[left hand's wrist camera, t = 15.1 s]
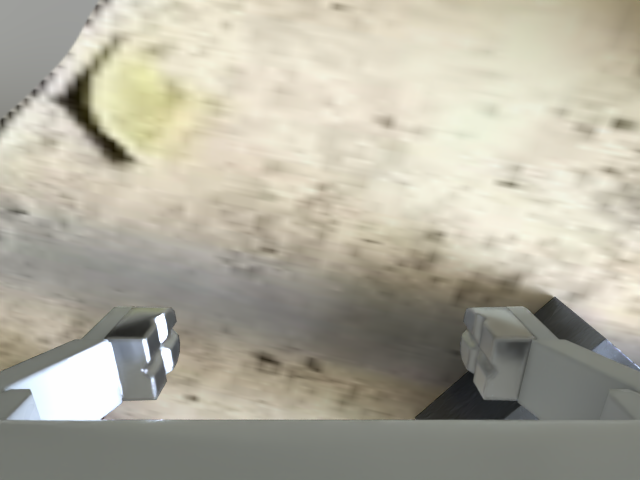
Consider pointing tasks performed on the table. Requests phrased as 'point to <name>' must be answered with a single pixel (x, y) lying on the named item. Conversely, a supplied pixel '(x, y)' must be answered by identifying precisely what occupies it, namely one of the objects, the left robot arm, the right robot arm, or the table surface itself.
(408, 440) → the left robot arm
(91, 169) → the table surface
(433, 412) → the box
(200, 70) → the table surface
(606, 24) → the table surface
